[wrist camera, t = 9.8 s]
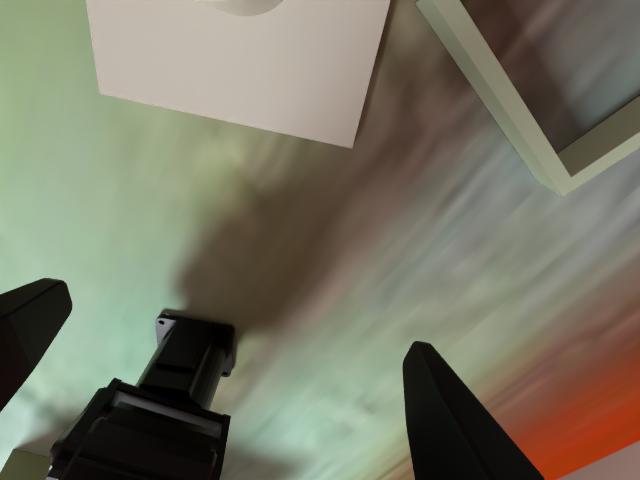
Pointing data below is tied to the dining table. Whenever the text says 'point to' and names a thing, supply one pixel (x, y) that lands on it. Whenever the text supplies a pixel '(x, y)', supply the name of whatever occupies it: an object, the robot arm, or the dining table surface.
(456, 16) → the holder
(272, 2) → the pink plastic bottle
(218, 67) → the plate
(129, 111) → the dining table surface
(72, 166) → the dining table surface
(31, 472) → the grocery bag
